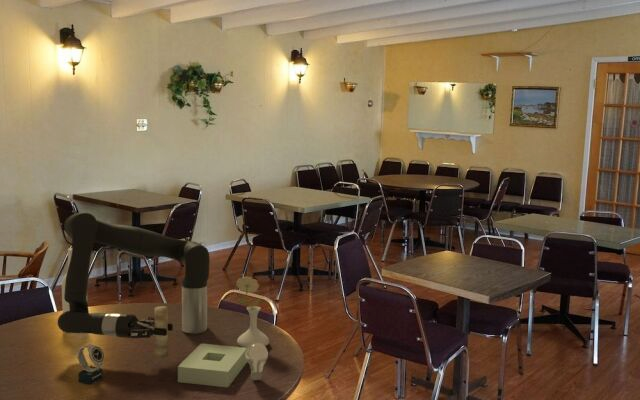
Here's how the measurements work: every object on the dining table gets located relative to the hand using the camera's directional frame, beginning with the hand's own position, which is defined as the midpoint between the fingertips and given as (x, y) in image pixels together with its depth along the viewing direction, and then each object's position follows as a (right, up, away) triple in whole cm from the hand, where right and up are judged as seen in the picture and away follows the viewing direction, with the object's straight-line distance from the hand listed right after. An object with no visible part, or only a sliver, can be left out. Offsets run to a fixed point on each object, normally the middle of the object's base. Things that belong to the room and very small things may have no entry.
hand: (169, 329), depth 208 cm
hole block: (+14, -13, -1) cm, 20 cm away
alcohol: (-44, -6, +36) cm, 57 cm away
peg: (-3, -9, +2) cm, 9 cm away
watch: (-22, -14, -10) cm, 27 cm away
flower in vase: (+24, -10, +23) cm, 34 cm away
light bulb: (+29, -15, -7) cm, 33 cm away
